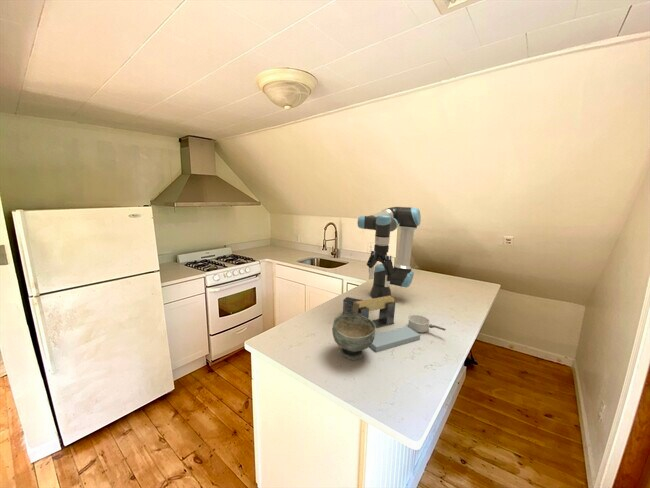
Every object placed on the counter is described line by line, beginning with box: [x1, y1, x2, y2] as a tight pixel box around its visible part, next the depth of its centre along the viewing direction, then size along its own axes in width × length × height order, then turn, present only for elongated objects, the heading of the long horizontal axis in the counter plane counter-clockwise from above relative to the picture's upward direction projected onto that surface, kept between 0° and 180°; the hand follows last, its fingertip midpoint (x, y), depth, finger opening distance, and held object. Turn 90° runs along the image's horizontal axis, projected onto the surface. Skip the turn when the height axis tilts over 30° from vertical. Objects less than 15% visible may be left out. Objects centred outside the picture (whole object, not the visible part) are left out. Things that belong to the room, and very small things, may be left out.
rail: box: [353, 294, 397, 314], centre depth 149 cm, size 4×26×5 cm, turn 117°
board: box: [369, 325, 421, 353], centre depth 136 cm, size 10×28×2 cm, turn 117°
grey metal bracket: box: [353, 303, 396, 329], centre depth 151 cm, size 7×24×12 cm, turn 117°
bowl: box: [331, 314, 377, 361], centre depth 122 cm, size 20×19×15 cm
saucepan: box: [407, 314, 447, 333], centre depth 146 cm, size 12×20×6 cm, turn 45°
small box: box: [342, 296, 363, 315], centre depth 161 cm, size 11×6×10 cm, turn 65°
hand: (378, 282), depth 147 cm, fingers open, 13 cm apart
